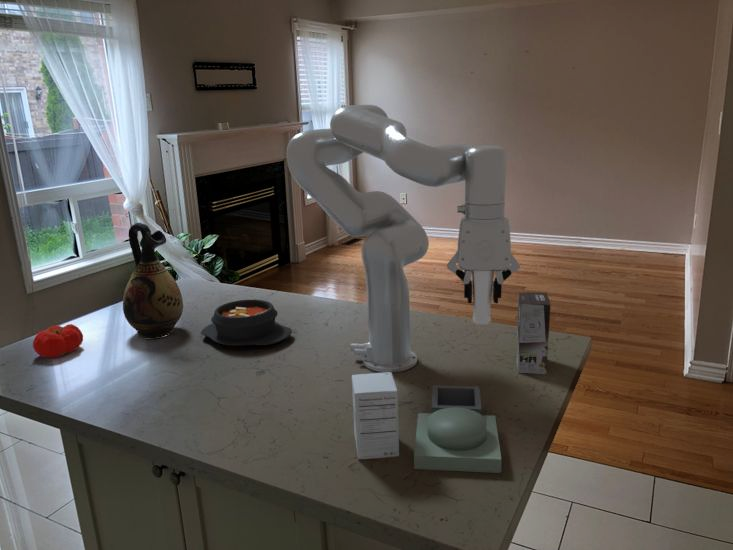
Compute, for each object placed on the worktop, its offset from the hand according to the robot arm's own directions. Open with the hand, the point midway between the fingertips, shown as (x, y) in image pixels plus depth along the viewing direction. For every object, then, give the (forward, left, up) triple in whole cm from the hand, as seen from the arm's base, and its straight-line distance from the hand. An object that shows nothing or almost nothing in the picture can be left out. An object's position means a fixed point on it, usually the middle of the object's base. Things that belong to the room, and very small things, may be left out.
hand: (482, 300), depth 120 cm
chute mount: (-5, -19, -19) cm, 28 cm away
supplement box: (-19, -24, -19) cm, 37 cm away
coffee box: (+12, +12, -19) cm, 25 cm away
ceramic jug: (-86, +28, -19) cm, 93 cm away
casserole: (-59, +25, -20) cm, 67 cm away
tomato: (-104, +13, -20) cm, 107 cm away
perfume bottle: (0, 0, -5) cm, 5 cm away
